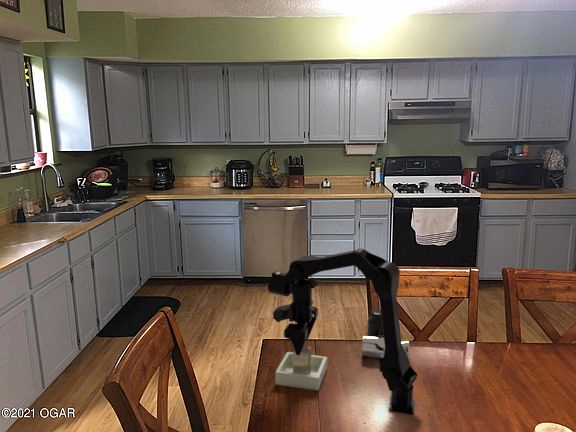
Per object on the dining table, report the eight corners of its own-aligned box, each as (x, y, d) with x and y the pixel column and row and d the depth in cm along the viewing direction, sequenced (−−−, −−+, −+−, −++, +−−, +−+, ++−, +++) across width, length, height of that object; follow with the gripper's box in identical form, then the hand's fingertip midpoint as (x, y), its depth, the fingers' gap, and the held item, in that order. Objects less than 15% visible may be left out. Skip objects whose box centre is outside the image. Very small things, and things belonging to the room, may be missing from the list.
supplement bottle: (381, 350, 164) (382, 317, 161) (363, 344, 168) (364, 312, 165) (389, 342, 169) (391, 310, 167) (372, 337, 173) (373, 306, 171)
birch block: (307, 378, 144) (307, 354, 143) (293, 376, 146) (293, 352, 144) (310, 371, 149) (311, 347, 147) (296, 369, 150) (296, 345, 148)
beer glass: (408, 336, 160) (363, 331, 163) (409, 343, 153) (362, 339, 156) (407, 356, 161) (362, 351, 164) (408, 364, 154) (361, 359, 157)
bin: (318, 390, 139) (318, 378, 139) (275, 384, 143) (275, 372, 142) (326, 368, 152) (327, 356, 151) (287, 363, 155) (287, 351, 154)
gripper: (284, 286, 153) (284, 331, 156) (266, 308, 136) (266, 359, 139) (318, 289, 150) (318, 335, 153) (304, 312, 133) (304, 364, 136)
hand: (301, 347), depth 145 cm, fingers open, 9 cm apart
